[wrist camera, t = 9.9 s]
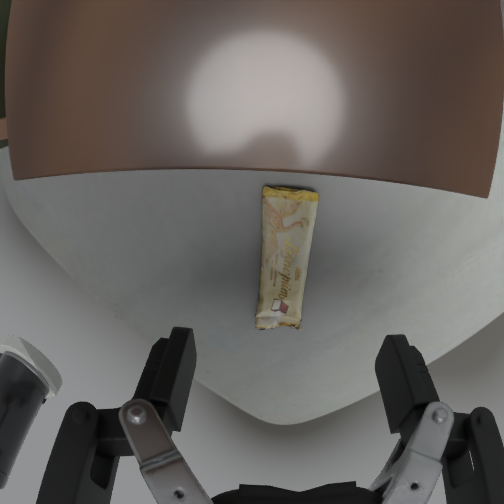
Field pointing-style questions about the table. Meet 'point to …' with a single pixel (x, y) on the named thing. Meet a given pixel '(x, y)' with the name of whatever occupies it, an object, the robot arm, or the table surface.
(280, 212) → the snack bar
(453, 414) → the robot arm
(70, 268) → the table surface
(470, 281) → the table surface
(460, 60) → the cabinet
